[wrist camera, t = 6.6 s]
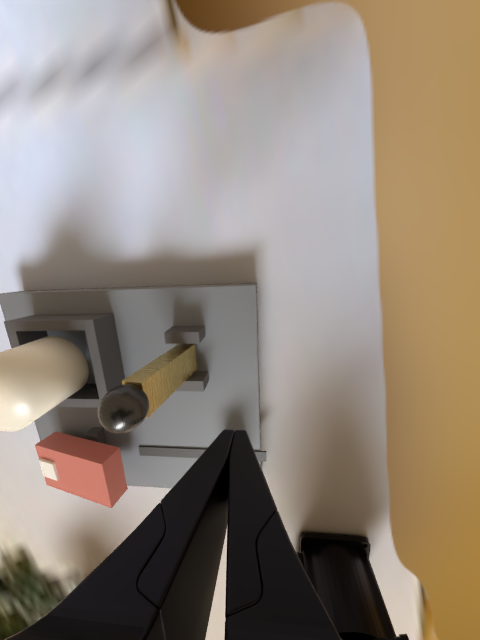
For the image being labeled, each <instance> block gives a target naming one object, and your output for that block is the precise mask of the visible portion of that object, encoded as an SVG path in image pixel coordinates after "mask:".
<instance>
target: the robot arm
mask: <svg viewBox="0 0 480 640" xmlns="http://www.w3.org/2000/svg"><path fill="white" fill-rule="evenodd" d="M227 524H228V530H227V571H226V612H225V617H226V621H225V640H409V639H408V636H407V634H399V635H400V636H399V637H396V634H395V631H394V629H393V626H392V623H391V620H390V617H389V615H388V612H387V609H386V606H385V603H384V601H383V598H382V595H381V592H380V589H379V586H378V584H377V581H376V578H375V575H374V572H373V570H372V567H371V564H370V561H369V553H370V543H369V540H368V539H367V538H365V537H356V536H343V535H330V534H317V533H302V534H301V535H300V552H298V553H297V554H296V552H295V550H294V548H293V546H292V544H291V541H290V539H289V537H288V534H287V532H286V530H285V527H284V525H283V522H282V520H281V517H280V515H279V512H278V511H277V507H276V505H275V502H274V500H273V497H272V495H271V492H270V490H269V487H268V484H267V482H266V479H265V477H264V474H263V472H262V469H261V466H260V464H259V461H258V459H257V456H256V454H255V451H254V449H253V446H252V443H251V441H250V438H249V436H248V433H247V431H246V430H233V429H224V430H223V431H222V432H221V433H220V434H219V435H218V437H217V438H216V439H215V440H214V441H213V442H212V443H211V445H210V446H209V447H208V448H207V449H206V450H205V451H204V453H203V454H202V455H201V456H200V457H199V458H198V459H197V461H196V462H195V463H194V464H193V465H192V466H191V467H190V469H189V470H188V471H187V472H186V473H185V474H184V475H183V477H182V478H181V479H180V480H179V481H178V482H177V483H176V484H175V486H174V487H173V488H172V489H171V490H170V491H169V492H168V494H167V495H166V496H165V497H164V498H163V499H162V500H161V503H159V504H158V505H157V506H156V507H155V508H154V509H153V511H152V512H151V513H150V514H149V515H148V516H147V517H146V518H145V519H144V520H143V522H142V523H141V524H140V525H139V526H138V527H137V528H136V529H135V530H134V531H133V532H132V533H131V534H130V535H129V536H128V537H127V538H126V539H125V540H124V541H123V542H122V543H121V544H120V545H119V546H118V547H117V548H116V549H115V550H114V551H113V552H112V553H111V554H110V555H109V556H108V557H107V558H106V559H105V560H104V561H103V562H102V563H101V564H100V565H99V566H98V567H97V568H96V569H95V570H93V571H92V572H91V573H90V574H89V575H88V576H87V577H86V578H85V579H84V580H83V581H82V582H81V583H80V584H79V585H78V586H77V587H76V588H75V589H74V590H73V591H72V592H71V593H70V594H69V595H68V596H67V597H65V598H64V599H63V600H62V601H61V602H60V603H59V604H58V605H57V606H56V607H54V608H53V609H52V610H51V611H50V612H48V613H47V614H46V615H45V616H43V617H42V618H41V619H39V620H38V621H36V622H35V623H34V624H32V625H30V626H29V627H27V628H26V629H24V630H22V631H20V632H19V633H17V634H15V635H13V636H11V637H9V638H7V639H5V640H205V637H206V632H207V626H208V621H209V616H210V611H211V606H212V601H213V596H214V591H215V585H216V580H217V575H218V570H219V565H220V560H221V555H222V549H223V544H224V539H225V534H226V529H227Z"/></svg>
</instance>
